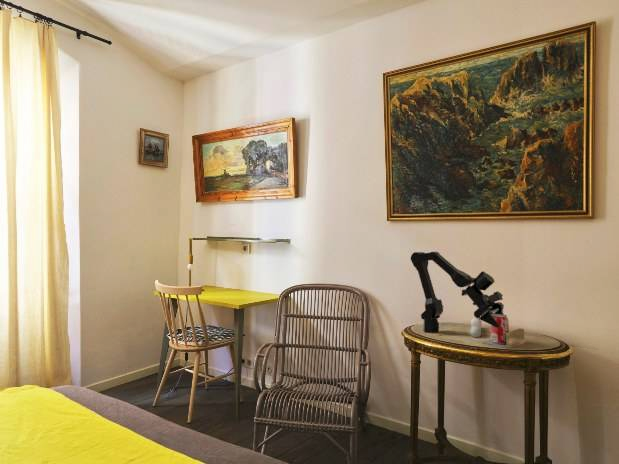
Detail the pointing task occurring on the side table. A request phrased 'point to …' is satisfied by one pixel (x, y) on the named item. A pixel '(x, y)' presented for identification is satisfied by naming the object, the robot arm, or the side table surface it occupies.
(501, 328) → the soda can
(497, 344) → the mat
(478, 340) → the side table surface
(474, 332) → the tube
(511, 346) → the backstop
